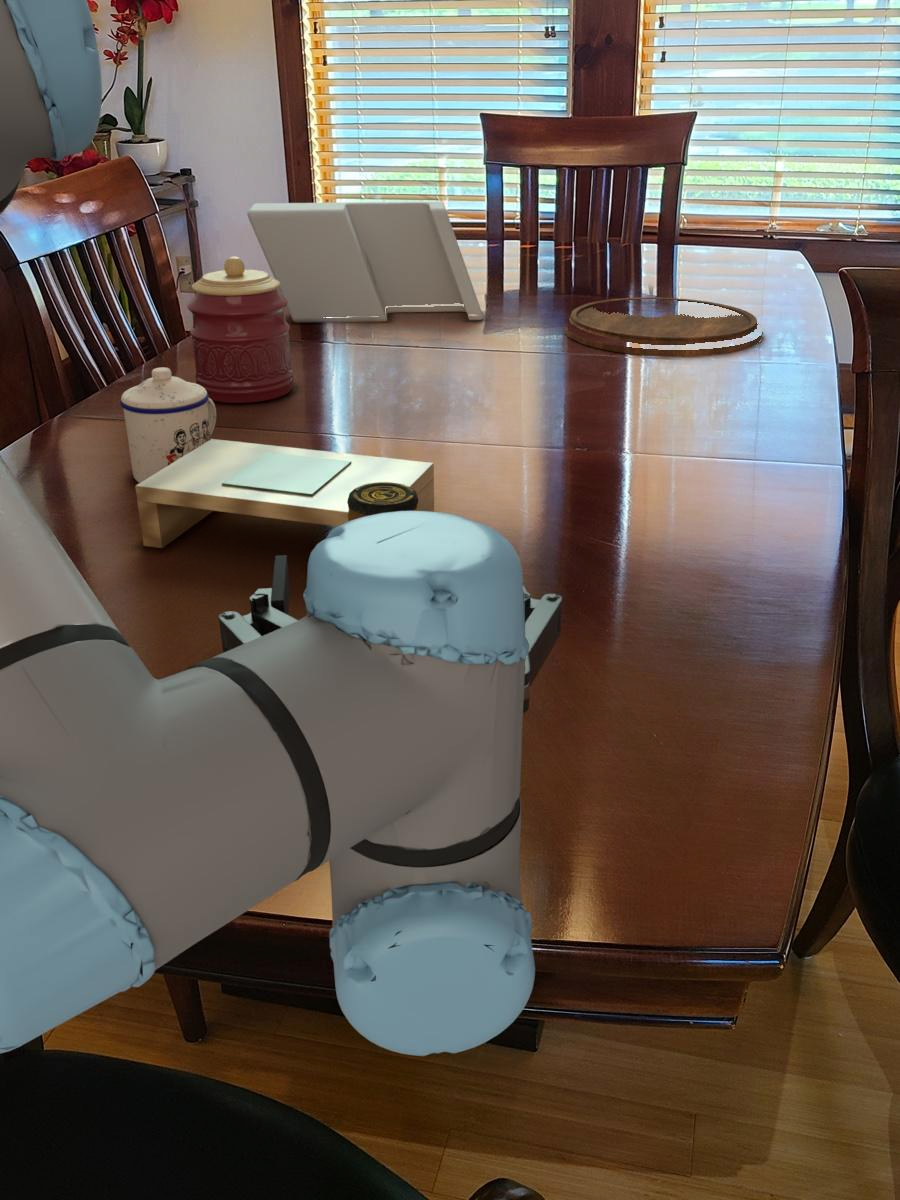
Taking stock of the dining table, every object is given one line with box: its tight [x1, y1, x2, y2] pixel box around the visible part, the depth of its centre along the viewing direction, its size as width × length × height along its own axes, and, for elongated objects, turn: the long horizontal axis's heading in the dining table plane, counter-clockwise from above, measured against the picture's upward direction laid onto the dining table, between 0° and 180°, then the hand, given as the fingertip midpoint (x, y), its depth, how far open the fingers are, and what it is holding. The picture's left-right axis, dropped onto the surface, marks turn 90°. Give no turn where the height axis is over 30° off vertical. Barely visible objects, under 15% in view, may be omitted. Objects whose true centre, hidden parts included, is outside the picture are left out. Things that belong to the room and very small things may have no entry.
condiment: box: [347, 482, 418, 521], centre depth 82 cm, size 7×8×12 cm
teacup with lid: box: [119, 367, 217, 484], centre depth 116 cm, size 12×9×12 cm
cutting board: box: [562, 296, 764, 357], centre depth 176 cm, size 32×32×2 cm
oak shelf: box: [134, 438, 435, 549], centre depth 102 cm, size 24×14×6 cm, turn 72°
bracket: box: [247, 201, 484, 324], centre depth 183 cm, size 30×10×30 cm, turn 93°
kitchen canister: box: [186, 256, 294, 404], centre depth 142 cm, size 13×13×18 cm
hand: (386, 568), depth 71 cm, fingers open, 13 cm apart
